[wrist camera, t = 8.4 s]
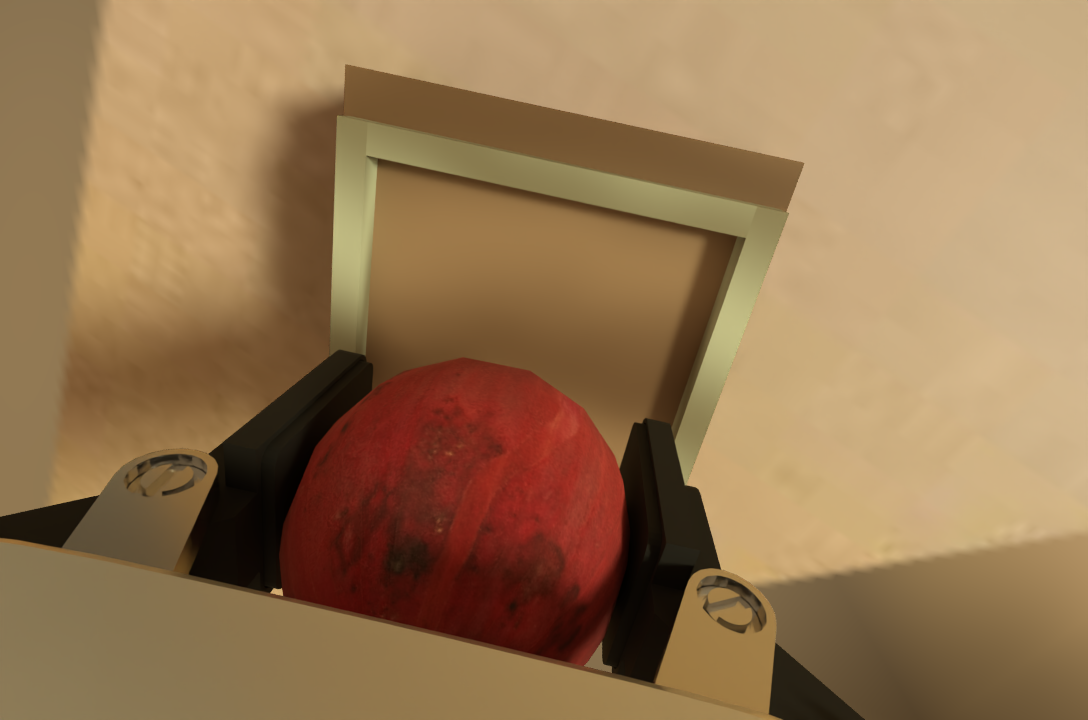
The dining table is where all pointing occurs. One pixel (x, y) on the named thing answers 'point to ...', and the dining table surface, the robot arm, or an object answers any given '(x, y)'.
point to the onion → (464, 512)
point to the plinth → (549, 249)
